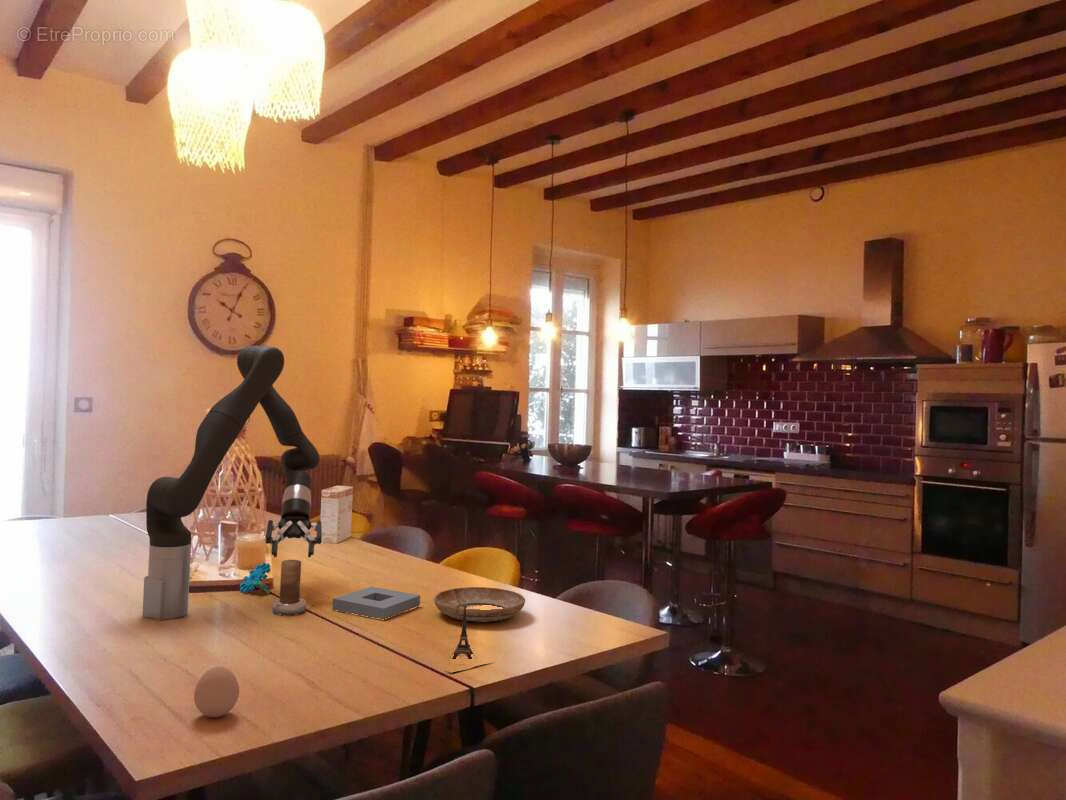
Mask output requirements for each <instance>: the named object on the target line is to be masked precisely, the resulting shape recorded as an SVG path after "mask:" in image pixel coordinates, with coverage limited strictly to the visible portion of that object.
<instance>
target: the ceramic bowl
mask: <svg viewBox="0 0 1066 800" xmlns="http://www.w3.org/2000/svg"><path fill="white" fill-rule="evenodd" d="M465 600H466V607H470V606H472V607H473V606H477V605H478V606H482V605H492V606H497V607H502V608H503V609H491V610H480V609H466V622H471V621H478V622H477V623H484V622H483V621H495V622H498V621H497V620H500V621H504V620H507V619H509V618H511V617H513V616H515V615H517V614H518V613H519V612H521V611H522V609H523V608H524V607H525V604H526V599H525V596H523V595H522V594H520V593H519V592H515V591H512V590H508V589H502V588H496V587H485V586H484V587H483V586H477V587H476V586H469V587H467V586H466V587H456V588H452V589H451V588H450V589H447V590H442V591H440V592H439V593H437V594H436V595H435V596H434V599H433V601H434V605H435V606H436V608H437V609H438V610H439V611H440V612H441V613H443V614H445V615H446V616H449V617H451V618H453V619H456V620H459V619H460V620H459V621H463V616H464V605H465ZM503 619H504V620H503Z"/></svg>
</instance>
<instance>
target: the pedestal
mask: <svg viewBox="0 0 1066 800" xmlns="http://www.w3.org/2000/svg"><path fill="white" fill-rule="evenodd" d="M306 603H307V601H306V598H305V599H304V598H302V597H300V599H299V602H298V603H294V604H283V603H280V597H279V598H276V599H274V600H273V601H272V614H274V613H275V615H276V614H281V615H280V616H283V615H291V616H296V615H295V614H299V615H302V614H304V613H305V612H306V609H307V604H306ZM303 612H304V613H303ZM301 613H302V614H301Z"/></svg>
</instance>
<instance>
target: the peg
mask: <svg viewBox="0 0 1066 800" xmlns="http://www.w3.org/2000/svg"><path fill="white" fill-rule="evenodd" d="M280 565H281V566H280V587H279V588H280V589H279V598H280V603H283V604H294V603H298V602H299V599H300V598H301V596H300V594H301V578H302V577H301V575H302V560H298V559H286V560H282V561H281V563H280Z"/></svg>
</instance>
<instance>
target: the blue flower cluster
mask: <svg viewBox="0 0 1066 800" xmlns="http://www.w3.org/2000/svg"><path fill="white" fill-rule="evenodd" d="M270 572H271V564H270V563H266V562H265V561H264V562H262V563H261V565H260V564H257V565H256V566H255V569H251V570H249V571H248V574H249V575H248V576H247V575H245V576H243V578H242V580H243V581H244V582H243V581H242V582H241V583H240V585H239V587H240V588H239V591H240V592H241V593H245V594H247V593H248V592H249V591H250V592H253V591H255V588H256V587H257V588H258V589H259V590H260V591H264V592H265V594H267V595H269V594H270V593H271V592H270V590H268V589H269V586H268V585H266V583H265V582H264V581H265V580H266V579H267V578H268V575H267V574H269V573H270ZM263 580H264V581H263Z"/></svg>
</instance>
